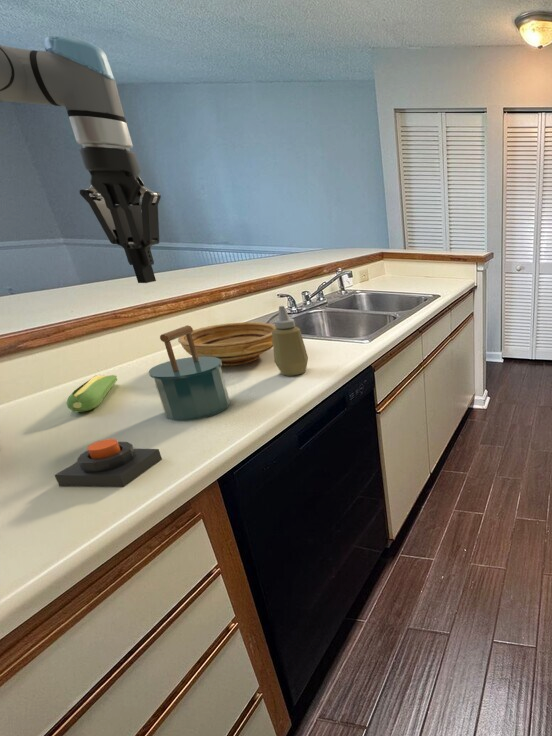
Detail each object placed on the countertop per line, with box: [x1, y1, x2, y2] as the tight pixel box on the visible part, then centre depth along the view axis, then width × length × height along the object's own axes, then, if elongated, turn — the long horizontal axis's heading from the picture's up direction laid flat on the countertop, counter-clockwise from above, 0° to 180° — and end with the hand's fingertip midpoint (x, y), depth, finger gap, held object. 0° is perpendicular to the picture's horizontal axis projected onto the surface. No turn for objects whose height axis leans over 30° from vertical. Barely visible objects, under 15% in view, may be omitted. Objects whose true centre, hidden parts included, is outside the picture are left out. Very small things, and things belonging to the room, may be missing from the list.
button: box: [86, 438, 121, 459], centre depth 68 cm, size 4×4×2 cm
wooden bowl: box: [177, 321, 276, 366], centre depth 121 cm, size 30×24×8 cm
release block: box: [54, 441, 163, 488], centre depth 69 cm, size 10×8×4 cm
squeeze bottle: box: [272, 305, 309, 377], centre depth 110 cm, size 8×8×18 cm
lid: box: [148, 325, 223, 379], centre depth 87 cm, size 12×12×9 cm
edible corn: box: [66, 374, 119, 413], centre depth 95 cm, size 5×20×5 cm, turn 27°
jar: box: [152, 366, 231, 422], centre depth 90 cm, size 11×11×10 cm
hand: (147, 281), depth 84 cm, fingers closed
